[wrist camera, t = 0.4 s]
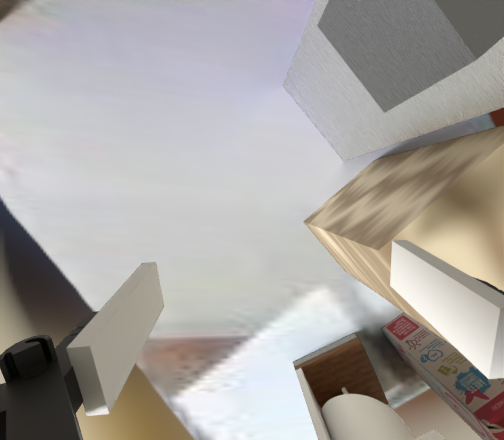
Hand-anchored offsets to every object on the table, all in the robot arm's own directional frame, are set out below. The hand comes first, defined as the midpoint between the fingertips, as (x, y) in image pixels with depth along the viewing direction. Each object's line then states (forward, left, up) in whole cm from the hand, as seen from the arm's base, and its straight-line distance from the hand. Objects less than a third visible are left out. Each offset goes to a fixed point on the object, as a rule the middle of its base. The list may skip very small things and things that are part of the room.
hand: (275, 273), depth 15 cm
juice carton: (+20, +23, -26) cm, 40 cm away
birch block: (0, +16, -25) cm, 30 cm away
